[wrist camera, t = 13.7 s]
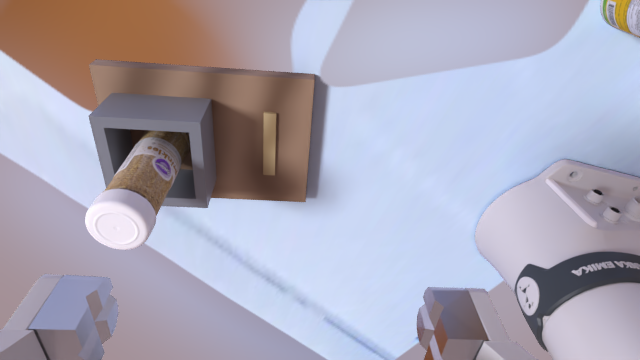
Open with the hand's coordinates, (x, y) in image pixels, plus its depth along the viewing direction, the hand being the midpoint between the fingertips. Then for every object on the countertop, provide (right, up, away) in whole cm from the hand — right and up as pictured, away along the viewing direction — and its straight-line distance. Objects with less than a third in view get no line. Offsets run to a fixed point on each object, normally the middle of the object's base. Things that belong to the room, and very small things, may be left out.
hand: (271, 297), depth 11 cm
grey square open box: (-14, +7, +30) cm, 34 cm away
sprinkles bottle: (-14, +7, +31) cm, 34 cm away
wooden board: (-10, +8, +32) cm, 34 cm away
